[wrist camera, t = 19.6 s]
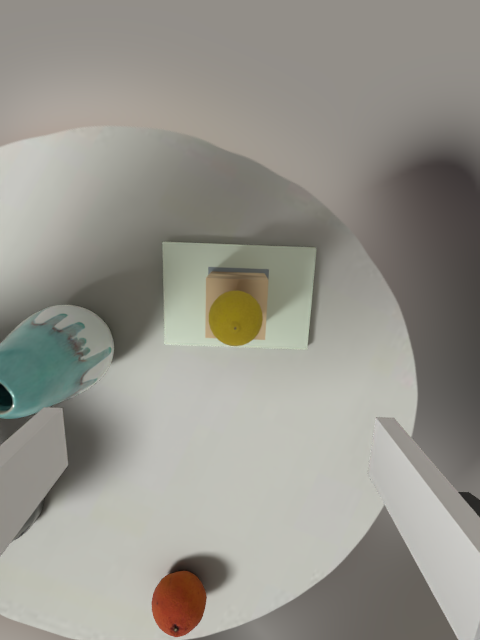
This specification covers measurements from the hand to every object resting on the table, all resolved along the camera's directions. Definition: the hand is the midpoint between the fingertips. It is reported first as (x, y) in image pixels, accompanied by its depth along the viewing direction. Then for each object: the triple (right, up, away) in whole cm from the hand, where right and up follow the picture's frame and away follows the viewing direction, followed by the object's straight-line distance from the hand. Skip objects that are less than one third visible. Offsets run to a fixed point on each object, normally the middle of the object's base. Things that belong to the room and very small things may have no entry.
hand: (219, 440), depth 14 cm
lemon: (0, +6, +24) cm, 25 cm away
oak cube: (+1, +8, +31) cm, 32 cm away
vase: (-22, +2, +34) cm, 40 cm away
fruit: (-9, -41, +45) cm, 61 cm away
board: (+1, +8, +32) cm, 33 cm away
